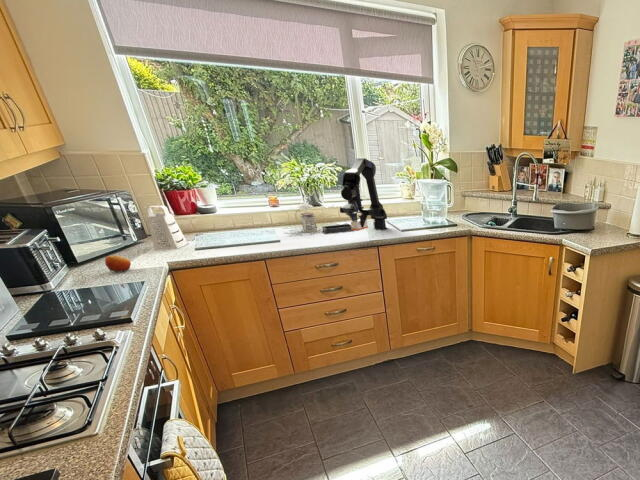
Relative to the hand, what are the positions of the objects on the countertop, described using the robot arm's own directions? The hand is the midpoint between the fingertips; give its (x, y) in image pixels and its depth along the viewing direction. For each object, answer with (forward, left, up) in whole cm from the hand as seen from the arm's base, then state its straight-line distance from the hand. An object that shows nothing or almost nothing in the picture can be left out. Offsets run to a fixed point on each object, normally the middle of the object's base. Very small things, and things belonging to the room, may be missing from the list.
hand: (359, 226), depth 227 cm
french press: (+19, -42, -8) cm, 47 cm away
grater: (+87, -38, -8) cm, 95 cm away
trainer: (0, 0, -1) cm, 1 cm away
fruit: (+104, 0, -8) cm, 104 cm away
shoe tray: (+4, -33, -8) cm, 35 cm away
